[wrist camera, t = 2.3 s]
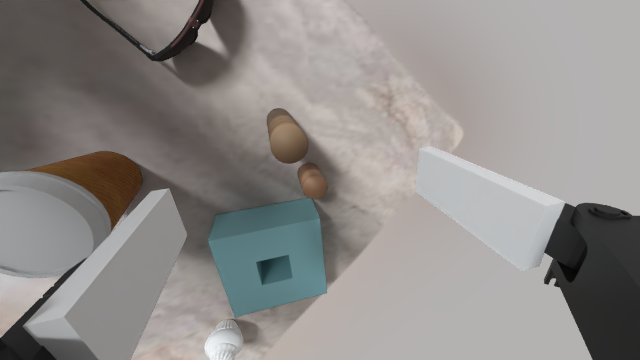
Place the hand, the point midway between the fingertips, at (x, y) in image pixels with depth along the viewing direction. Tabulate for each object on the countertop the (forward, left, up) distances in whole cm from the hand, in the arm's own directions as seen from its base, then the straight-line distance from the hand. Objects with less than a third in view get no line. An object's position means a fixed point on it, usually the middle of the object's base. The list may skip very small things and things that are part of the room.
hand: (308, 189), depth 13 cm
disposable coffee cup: (+4, -21, -21) cm, 30 cm away
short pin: (+8, +3, -20) cm, 22 cm away
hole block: (+19, -4, -20) cm, 28 cm away
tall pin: (0, 0, -20) cm, 20 cm away
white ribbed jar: (+35, -15, -21) cm, 43 cm away
